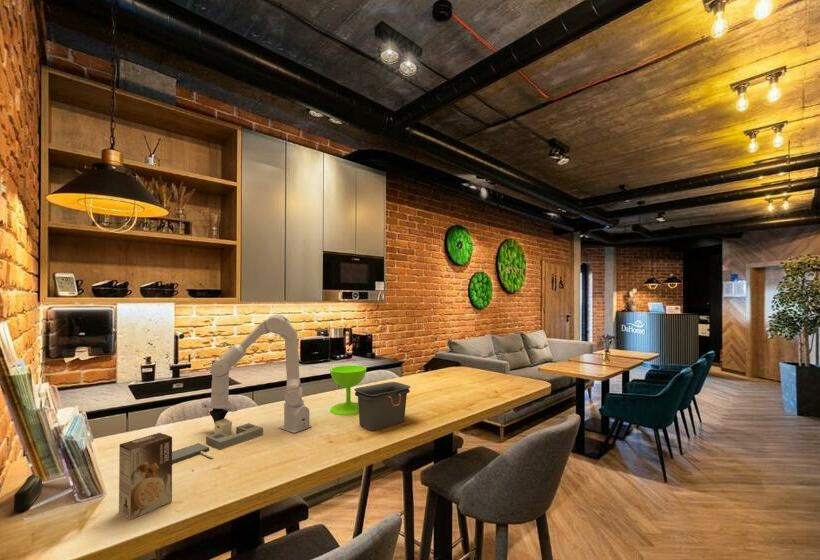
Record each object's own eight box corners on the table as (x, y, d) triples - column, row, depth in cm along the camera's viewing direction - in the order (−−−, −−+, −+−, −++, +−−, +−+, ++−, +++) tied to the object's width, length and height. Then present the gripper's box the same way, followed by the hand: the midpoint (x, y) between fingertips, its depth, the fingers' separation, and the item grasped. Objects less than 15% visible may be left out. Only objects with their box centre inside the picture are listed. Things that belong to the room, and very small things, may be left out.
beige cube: (230, 433, 138) (232, 422, 137) (220, 437, 134) (222, 425, 134) (223, 429, 140) (225, 418, 139) (213, 433, 136) (215, 421, 136)
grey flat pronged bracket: (220, 456, 118) (220, 452, 118) (176, 472, 108) (176, 468, 108) (198, 446, 126) (198, 442, 126) (155, 460, 115) (155, 456, 115)
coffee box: (159, 494, 96) (161, 431, 96) (172, 501, 92) (173, 436, 93) (117, 512, 88) (118, 443, 89) (129, 521, 85) (131, 449, 85)
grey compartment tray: (263, 434, 136) (263, 427, 137) (220, 449, 123) (220, 442, 123) (248, 429, 141) (248, 422, 142) (205, 443, 128) (206, 436, 128)
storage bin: (392, 413, 160) (392, 380, 160) (417, 423, 148) (417, 386, 148) (350, 425, 145) (350, 388, 146) (374, 437, 134) (374, 396, 134)
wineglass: (350, 417, 155) (350, 374, 155) (322, 411, 163) (322, 370, 164) (373, 407, 168) (373, 367, 169) (346, 402, 177) (346, 364, 177)
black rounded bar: (10, 515, 87) (33, 488, 100) (28, 511, 88) (49, 485, 101) (11, 493, 87) (34, 469, 100) (29, 489, 89) (49, 466, 101)
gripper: (243, 391, 140) (242, 427, 140) (213, 387, 145) (212, 423, 144) (229, 396, 134) (228, 434, 133) (198, 392, 138) (196, 429, 137)
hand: (218, 429), depth 138 cm, fingers closed, pressing on beige cube
